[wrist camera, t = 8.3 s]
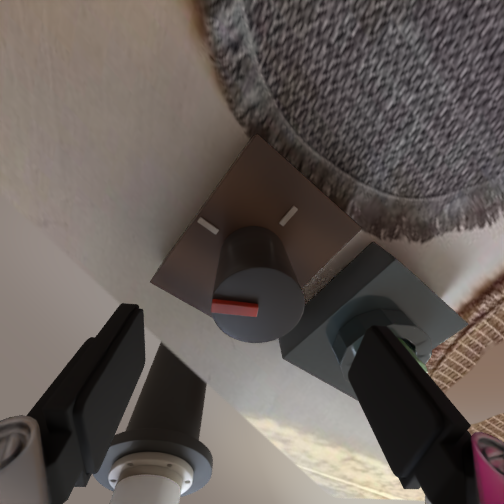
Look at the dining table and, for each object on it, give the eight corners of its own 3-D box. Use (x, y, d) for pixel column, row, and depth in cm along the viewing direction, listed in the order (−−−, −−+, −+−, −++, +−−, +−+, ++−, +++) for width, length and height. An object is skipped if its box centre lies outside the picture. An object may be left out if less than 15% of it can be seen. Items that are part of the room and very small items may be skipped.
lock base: (248, 314, 22) (249, 340, 19) (162, 262, 19) (148, 283, 16) (344, 215, 18) (363, 229, 15) (253, 134, 16) (257, 132, 13)
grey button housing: (345, 372, 26) (367, 421, 21) (276, 331, 23) (285, 377, 18) (439, 300, 22) (490, 341, 18) (373, 241, 19) (413, 271, 15)
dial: (291, 230, 15) (318, 277, 10) (277, 287, 17) (293, 351, 12) (224, 221, 15) (215, 264, 10) (216, 280, 17) (205, 344, 11)
